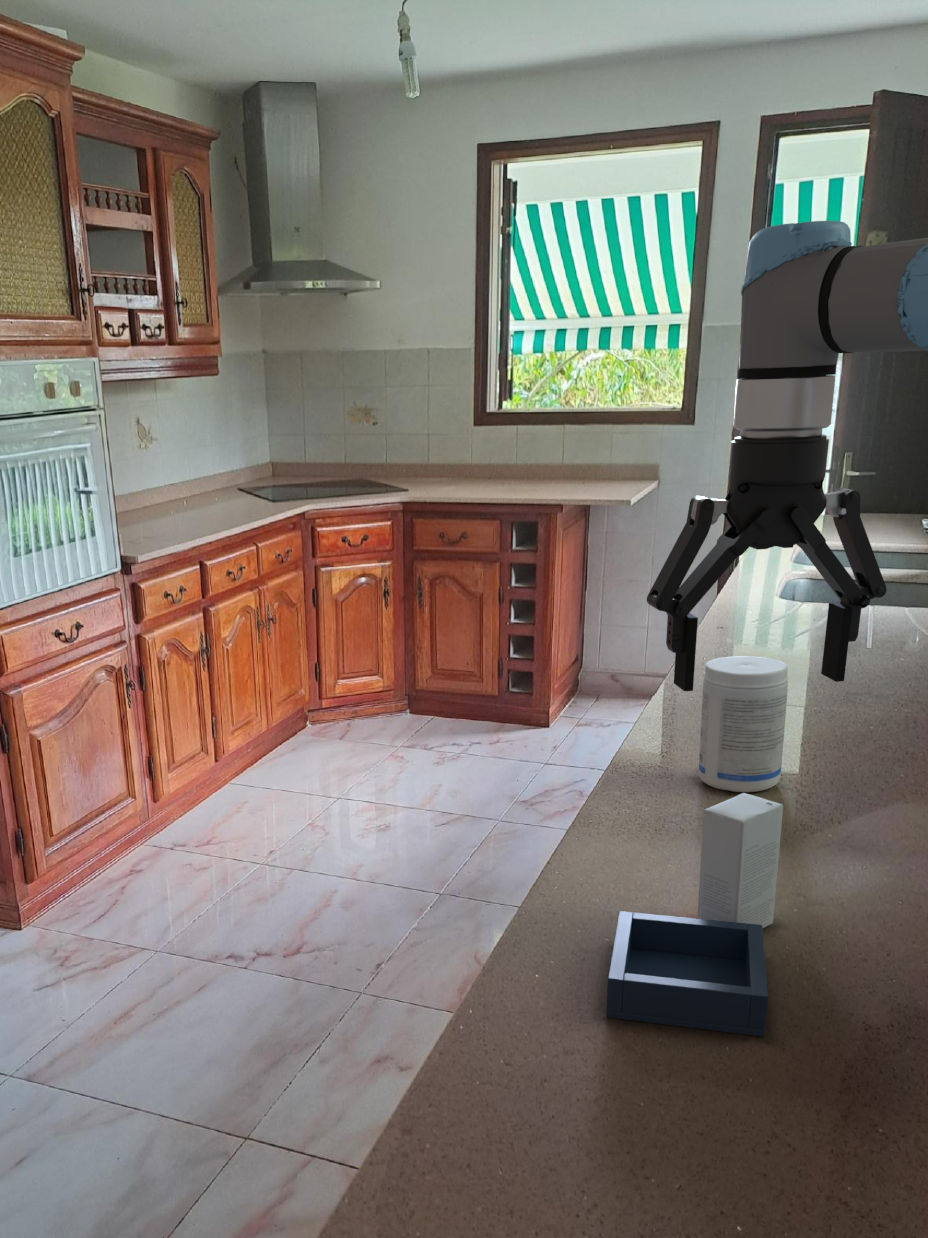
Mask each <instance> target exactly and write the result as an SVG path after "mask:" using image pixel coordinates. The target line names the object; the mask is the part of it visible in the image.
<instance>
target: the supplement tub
mask: <svg viewBox="0 0 928 1238" xmlns="http://www.w3.org/2000/svg"><path fill="white" fill-rule="evenodd" d="M788 669H789V668H788V665H787V664H786V663H784V662H783V661H781V660H778V659H775V658H769V657H765V656H764V657H763V656H753V655H751V656H750V655H733V656H725V657H724V656H722V657H717V658H713V659H710V660H708V661H707V662H706V663H705V666H704V674H703V676H702V677H703V679H702V696H701V713H700V714H701V716H700V732H699V733H700V735H699V750H698V751H699V753H698V770H697V771H698V777H699V778H700V780H701V781H702V782H703V783H704V784H705V785H707V786H710V787H712V788H714V789H717V790H720V791H721V790H722V791H729V792H734V793H755V792H762V791H765V790H768V789H772V788H773V787H775V786H776V785H777V784H779V781H780V780H781V775H782V764H783V763H782V762H783V752H784V751H783V750H784V740H785V739H784V738H785V727H786V716H787V715H786V713H787V703H788V687H789V677H788Z"/></svg>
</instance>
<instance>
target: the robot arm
mask: <svg viewBox="0 0 928 1238" xmlns="http://www.w3.org/2000/svg"><path fill="white" fill-rule="evenodd" d="M851 240H852V239H851V228H850V226H849V225H848V223H846V222H845V221H840V220H814V221H813V220H811V221H803V222H797V223H796V222H795V223H782V224H776V225H770V226H767V227H763V228H761V229H760V230H758V231H756V233H755V234H754V235H753V236H752V237H751V238H750V240H749V244H748V248H747V254H746V263H745V271H744V278H743V284H742V285H741V289H740V295H741V311H740V313H741V314H740V315H741V317H740V338H739V339H740V341H739V344H740V345H739V356H738V357H739V358H738V368H737V369H738V370H737V376H736V378H737V379H736V383H735V393H734V394H735V395H734V396H735V397H734V408H733V409H734V410H733V421H732V424H733V425H732V427H733V428H734V429H735V430H736V431H739V436H735V437H734V440H731V445H730V447H731V448H730V457H729V472H728V485H729V486H728V491H727V493H726V496H725V497H724V499H718V498H708V497H705V496H701V495H694V496H692V497H691V499H690V500H689V506H688V511H687V516H686V517H687V518H686V522H685V524H684V526H683V528H682V530H681V532H680V534H679V535H678V537H677V539H676V541H675V543H674V545H673V547H672V548H671V551H670V553H669V554H668V556H667V558H666V560H665V561H664V564H663V566H662V568H661V570H660V572H659V573H658V576H657V577H656V578H655V580H654V582H653V584H652V586H651V588H650V590H649V592H648V594H647V596H646V603H647V604H648V605H649V606H650V607H652V608H654V609H655V610H657V611H659V612H663V613H666V615H667V624H666V639H665V641H666V642H665V644H666V648H667V649H668V651H670V652H672V653H673V654H674V655H675V657H674V669H673V670H674V672H673V673H674V674H673V684H674V685H675V686H677V687H678V688H679V689H680V690H682V691H683V692H693V691H694V681H695V669H696V668H695V667H696V652H697V651H696V650H697V638H698V623H699V617H697V616H696V615H694V614H692V613H691V612H692V610H693V609H694V608H695V607H697V605H698V603H699V602H700V601H701V600H702V599H703V598H704V596H705V595H706V594H707V593H708V592H709V591H710V590H711V588H713V586H714V585H715V584H716V583H717V581H718V580H719V579H721V577H722V576H723V575H724V573H725V572H726V571H727V570H728V569H729V567H731V565H732V564H733V563H734V562H735V561H736V559H737V558H738V557H741V556H742V555H744V554H745V553H746V551H748V549H749V548H752V549H754V550H757V551H759V550H768V549H771V548H774V547H778V548H783V549H790V548H794V546H798V547H799V548H800V549H801V550H802V551H803V553H804V554H805V556H806V557H807V558H808V559H809V561H810V562H811V564H812V565H813V567H814V568H815V569H816V570H817V572H818V573H819V574H820V575H821V577H822V578H823V580H824V581H825V582H826V583H827V585H828V586H829V587H830V589H831V590H832V591H833V593H834V594H835V595H836V596H837V598H838V600H840V602H838V601H834V602H833V601H832V602H828V608H827V616H826V627H825V635H824V642H823V643H824V644H823V652H822V664H821V670H820V674H821V675H823V676H824V677H826V678H828V679H830V680H831V681H833V682H836V683H837V682H839V683H840V682H845V678H846V677H845V675H846V668H847V660H848V650H849V644H850V643H851V642H856V641H857V639H858V637H859V632H860V631H859V629H860V623H861V614H862V609H865V608H867V607H869V605H870V603H871V600H873V599H876V598H878V599H880V598H882V597H884V596H885V595H886V594H887V591H888V589H887V585H886V582H885V580H884V577H883V574H882V572H881V569H880V566H879V564H878V560H877V558H876V555H875V552H874V550H873V547H872V545H871V542H870V540H869V539H870V538H869V536H868V534H867V531H866V528H865V525H864V523H863V520H862V517H861V493H860V491H858V490H856V489H850V488H845V487H837V488H835V489H834V490H833V491H832V492H826V493H825V492H824V488H823V485H824V480H825V478H826V473H827V464H828V453H829V445H830V444H829V443H830V439H829V438H827V437H828V436H827V435H826V434H823V430H824V429H828V428H829V427H830V426H831V424H832V416H833V406H834V397H835V396H834V395H835V385H836V375H837V365H838V361H839V354H853V353H882V352H883V353H886V352H887V353H888V352H889V353H891V352H919V351H921V352H923V351H927V352H928V237H923V238H915V239H907V240H900V241H894V242H893V241H892V242H887V243H880V244H879V243H878V244H871V245H853V243H852V241H851ZM825 510H826V511H827V514H828V515H829V516H830V517H832V518H833V519H832V520H833V523H834V527H835V530H836V532H837V535H838V537H839V539H840V542H841V545H842V547H843V548H842V549H843V550H844V552H845V555H846V558H847V560H848V563H849V567H850V569H851V571H852V574H853V576H854V577H852V576H851V574H850V573H849V572H848V571H847V570H846V568H845V566H844V565H843V564H842V562H841V561H840V560H839V558H838V557H837V556H836V554H835V553H834V552H833V550H832V549H831V548H830V547H829V545H828V543H827V540H826V538H825V537H824V535H823V534H822V532H821V531H820V530H819V528H818V527H817V526H816V525H815V523H816V522H817V521H818V519H819V517H820V516H821V515H822V514H823V513H824V511H825ZM721 515H723V517H725V519H726V521H727V522H728V524H729V525H728V526H727V528H726V529H725V530H724V531H723V533H721V535H719V537H718V538H717V540H716V544H715V545H714V546H713V547H712V548H711V550H710V551H709V552H708V553H707V554H706V556H705V557H703V559H702V560H701V561H700V563H699V564H698V565H697V566H696V567H695V569H694V570H693V571H692V572H691V573H690V574H689V576H687V574H688V572H689V571H690V569H691V566H692V564H693V563H694V561H695V559H696V558H697V555H698V553H699V551H700V550H701V548H702V546H703V544H704V542H705V540H706V539H707V537H708V534H709V533H710V529H711V526H713V525H715V524H716V523H717V522H718V520H719V518H720V516H721ZM686 576H687V578H686V579H685V577H686ZM853 578H854V579H855V580H854V579H853Z"/></svg>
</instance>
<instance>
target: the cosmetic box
mask: <svg viewBox="0 0 928 1238" xmlns="http://www.w3.org/2000/svg"><path fill="white" fill-rule="evenodd" d="M783 814H784V805H783V804H782V803H779V802H775V801H772V800H770V799H766V798H763V797H759V796H757V795H753V794H749V793H747V792H741V793H740V794H737V795H735V796H734V797H733V796H732V797H731V798H729V799H726V800H723V801H721V802H719V803H717V804H714V805H712V806H710V807H708V808H704V810H703V821H702V836H701V837H702V839H701V855H700V870H699V872H700V873H699V885H698V886H699V887H698V901H697V902H698V903H697V918H696V919H706V920H716V921H727V922H737V923H747V924H758V925H762V929H763V930H764V929H765V928H767V927H768V926H770V925H772V924H773V923H774V917H775V915H774V914H775V904H776V895H777V882H778V870H779V869H778V868H779V859H780V847H781V835H782V826H783V825H782V824H783Z"/></svg>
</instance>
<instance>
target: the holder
mask: <svg viewBox="0 0 928 1238" xmlns="http://www.w3.org/2000/svg"><path fill="white" fill-rule="evenodd" d="M764 943H765V942H764V928H763V929H762V925H758V924H747V923H737V922H727V921H716V920H706V919H697V918H694V917H684V916H673V915H663V914H654V913H642V912H633V911H624V910H623V911H622V910H620V911H619V912H618V917H617V922H616V928H615V935H614V941H613V947H612V951H611V952H612V953H611V958H610V963H609V969H608V976H607V988H606V989H607V990H606V991H607V992H606V1011H605V1012H606V1014H605V1016H606V1018H608V1019H618V1020H625V1021H632V1022H633V1021H634V1022H643V1023H650V1024H659V1025H667V1026H675V1027H681V1028H688V1029H689V1028H690V1029H698V1030H705V1031H712V1032H713V1031H714V1032H720V1033H721V1032H722V1033H731V1034H738V1035H739V1034H740V1035H746V1036H754V1037H761V1038H762V1037H763V1038H764V1037H765V1031H766V1021H767V1012H768V1011H767V1010H768V1002H769V993H768V992H769V991H768V979H767V967H766V957H765V956H766V954H765V944H764Z"/></svg>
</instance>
